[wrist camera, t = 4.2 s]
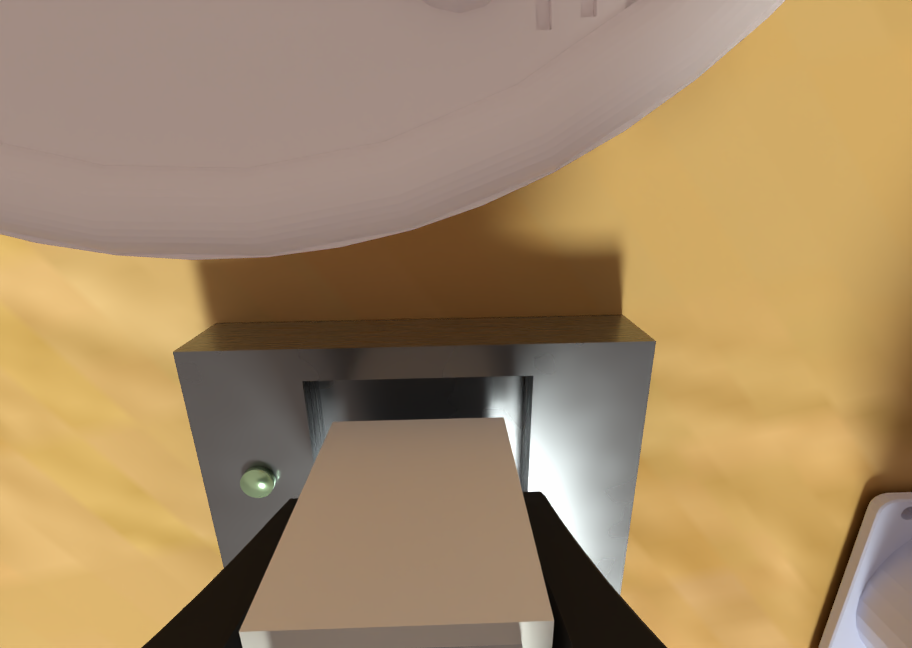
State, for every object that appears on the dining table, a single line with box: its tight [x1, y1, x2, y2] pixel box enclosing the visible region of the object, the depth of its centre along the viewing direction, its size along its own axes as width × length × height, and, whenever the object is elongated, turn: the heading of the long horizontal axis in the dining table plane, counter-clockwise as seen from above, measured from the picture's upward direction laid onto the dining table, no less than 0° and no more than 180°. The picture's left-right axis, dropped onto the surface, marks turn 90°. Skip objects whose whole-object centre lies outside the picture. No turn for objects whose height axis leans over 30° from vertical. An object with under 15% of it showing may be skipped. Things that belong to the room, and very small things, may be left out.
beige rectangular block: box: [239, 417, 554, 648], centre depth 8 cm, size 4×4×6 cm
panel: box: [173, 315, 656, 595], centre depth 13 cm, size 11×15×2 cm
